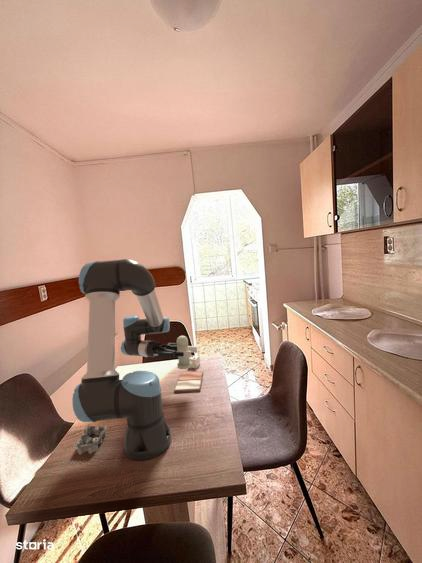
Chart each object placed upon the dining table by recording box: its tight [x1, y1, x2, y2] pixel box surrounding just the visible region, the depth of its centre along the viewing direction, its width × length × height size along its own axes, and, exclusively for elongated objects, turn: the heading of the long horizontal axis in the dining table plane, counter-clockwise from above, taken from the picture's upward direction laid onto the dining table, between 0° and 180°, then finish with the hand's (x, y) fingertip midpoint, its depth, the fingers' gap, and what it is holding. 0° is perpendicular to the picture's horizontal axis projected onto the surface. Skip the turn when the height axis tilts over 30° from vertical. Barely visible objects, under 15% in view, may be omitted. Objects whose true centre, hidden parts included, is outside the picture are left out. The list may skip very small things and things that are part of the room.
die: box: [189, 354, 201, 369], centre depth 146 cm, size 5×5×5 cm
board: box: [173, 371, 204, 394], centre depth 127 cm, size 18×12×1 cm, turn 177°
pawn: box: [175, 335, 192, 370], centre depth 118 cm, size 6×6×14 cm
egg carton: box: [74, 424, 108, 455], centre depth 89 cm, size 11×8×4 cm
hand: (193, 351), depth 116 cm, fingers closed on pawn, 5 cm apart
